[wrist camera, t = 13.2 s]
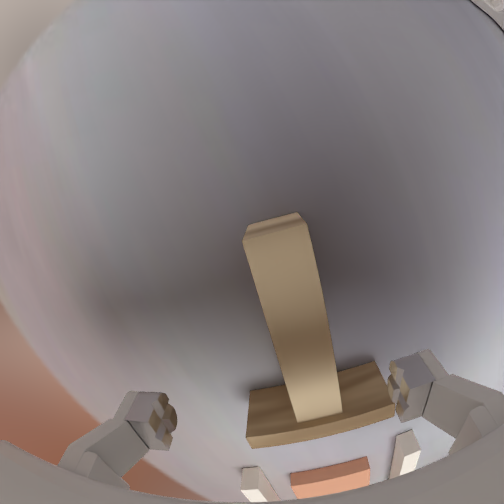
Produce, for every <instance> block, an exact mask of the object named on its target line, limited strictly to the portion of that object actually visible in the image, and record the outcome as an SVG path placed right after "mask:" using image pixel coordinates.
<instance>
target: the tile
mask: <svg viewBox="0 0 504 504" xmlns="http://www.w3.org/2000/svg"><path fill="white" fill-rule="evenodd" d="M290 474H291V487H292V489H293V491H294V493H295V495H296V497H297V499H302V498H309V497H316V496H322V495H328V494H333V493H338V492H343V491H348V490H352V489H356V488H360V487H364V486H368V485H369V480H370V466H369V463H368V459H367V456H366V457H363V458H360V459H356V460H352V461H349V462H345V463H341V464H337V465H332V466H328V467H323V468H319V469H313V470H308V471H302V472H296V473H290Z"/></svg>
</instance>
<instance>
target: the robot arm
mask: <svg viewBox="0 0 504 504" xmlns="http://www.w3.org/2000/svg"><path fill="white" fill-rule="evenodd" d="M471 1H473V2H474V3H475V4H476V5H477V6H479V7H480V8H481V9H482V10H483V11H485V12H486V13H487V14H488V15H490V16H491V17H492V18H493V19H494V20H495V21H496V22H497V23H498V24H499V25H500V27H501V28H502V29H503V30H504V0H471ZM389 370H390V372H391V375H390V376H389V377H388V384H387V385H388V393H389V396H390V399H391V401H392V402H394V403H396V404H397V405H396V412H397V415H398V417H399V419H400V421H401V423H402V422H406V421H409V420H412V419H415V418H418V417H420V416H422V417H423V418H425V419H426V420H428V421H429V422H431V423H432V424H434V425H435V426H437V427H438V428H440V429H442V430H443V431H445V432H446V433H448V434H449V435H451V436H453V437H454V438H456V440H455V441H454V443H453V445H452V447H451V448H450V450H449V452H448V453H449V456H447V457H444V458H442V459H440V460H438V461H436V462H433V463H431V464H429V465H426V466H424V467H422V468H419V469H417V470H414V471H411V472H409V473H406V474H403V475H400V476H397V477H394V478H391V479H388V480H385V481H382V482H379V483H375V484H372V485H368V486H364V487H360V488H356V489H352V490H348V491H343V492H338V493H333V494H328V495H322V496H316V497H309V498H302V499H293V500H283V501H269V502H212V501H197V500H187V499H178V498H172V497H164V496H159V495H153V494H148V493H143V492H138V491H133V490H129V488H130V487H129V485H128V484H127V483H126V482H125V481H124V480H123V479H122V478H121V477H122V476H123V475H124V474H125V473H126V472H127V471H128V470H130V469H131V468H132V466H134V465H135V464H136V463H137V462H138V461H139V460H140V459H141V458H142V457H143V456H144V455H145V454H146V453H147V452H148V451H149V449H152V450H165V451H169V448H170V445H171V442H172V439H173V437H172V435H171V432H173V431H174V430H175V429H176V426H177V414H176V411H175V409H174V407H172V406H171V405H170V404H168V401H169V399H168V397H167V395H166V394H165V393H161V392H141V391H140V392H137V391H129V392H128V393H127V394H126V396H125V397H124V399H123V401H122V403H121V405H120V407H119V408H118V410H117V412H116V414H115V416H114V418H113V419H109V420H107V421H106V422H104V423H103V424H101V425H100V426H98V427H96V428H95V429H93V430H92V431H90V432H89V433H87V434H86V435H84V436H83V437H81V438H79V439H78V440H76V441H75V442H73V443H71V444H70V445H69V446H68V448H67V450H66V451H65V453H64V455H63V457H62V458H61V460H60V462H59V464H58V466H56V465H53V464H51V463H49V462H47V461H44V460H42V459H40V458H38V457H36V456H34V455H32V454H30V453H28V452H26V451H24V450H22V449H20V448H18V447H17V446H15V445H13V444H11V443H9V442H8V441H5V440H1V441H0V504H504V395H503V394H502V392H499V391H497V390H494V389H491V388H488V387H486V386H483V385H480V384H478V383H475V382H472V381H470V380H467V379H464V378H462V377H459V376H456V375H454V374H451V375H449V374H448V373H447V372H446V370H445V369H444V367H443V366H442V365H441V363H440V362H439V361H438V359H437V358H436V357H435V355H434V354H433V353H432V352H431V350H429V349H426V350H423V351H420V352H417V353H414V354H411V355H408V356H405V357H402V358H399V359H396V360H392V361H391V363H390V367H389Z"/></svg>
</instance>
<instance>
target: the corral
mask: <svg viewBox="0 0 504 504" xmlns="http://www.w3.org/2000/svg"><path fill="white" fill-rule="evenodd" d="M420 452H421V448H420V446H419V444H418V442H417V439H416V437H415V435H414V433H413V430H410V431H408V432H405V433H402V434H400V435H397V436H396V442H395V449H394V455H393V460H392V465H391V471H390V475H389V479H391V478H394V477H397V476H400V475H403V474H406V473H409V472H411V471H414V470H415V467H416V464H417V461H418V458H419V455H420ZM241 491H242V493H243V494H244V495H245V496H246V497H247V498H248V499H249V500H250V502H269V501H281V500H280V498H279V497H278V495H277V494H276V492H275V491H274V489H273V488H272V486H271V485H270V483H269V482H268V480H267V478H266V477H265V475H264V474H263V472H262V470H261V469H260V467H252V468H243V470H242V480H241Z"/></svg>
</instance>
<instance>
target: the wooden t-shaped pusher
mask: <svg viewBox="0 0 504 504" xmlns="http://www.w3.org/2000/svg"><path fill="white" fill-rule="evenodd" d="M242 243H243V246H244V250H245V253H246V256H247V260H248V263H249V266H250V270H251V273H252V276H253V279H254V283H255V286H256V289H257V293H258V296H259V299H260V302H261V306H262V309H263V312H264V316H265V319H266V322H267V325H268V329H269V332H270V335H271V338H272V342H273V345H274V348H275V351H276V355H277V358H278V361H279V364H280V368H281V371H282V374H283V377H284V381H285V385H280V386H275V387H269V388H264V389H258V390H252V391H250V398H249V409H248V420H247V430H246V439H247V441H248V443H249V444H250V446H251V448H252V449H255V448H264V447H272V446H279V445H285V444H291V443H297V442H302V441H308V440H312V439H317V438H322V437H326V436H330V435H334V434H338V433H342V432H346V431H350V430H353V429H357V428H360V427H364V426H367V425H370V424H373V423H376V422H379V421H382V420H385V419H388V418H391V417H394V414H395V403H394V402H392V401H391V399H390V396H389V393H388V387H387V385H386V383H385V381H384V379H383V377H382V374H381V372H380V370H379V368H378V366H377V365H376V363H375V361H373V362H370V363H367V364H364V365H360V366H357V367H354V368H350V369H347V370H343V371H340V372H337V370H336V364H335V358H334V352H333V346H332V340H331V334H330V329H329V324H328V318H327V313H326V308H325V303H324V298H323V293H322V288H321V283H320V279H319V274H318V269H317V265H316V260H315V256H314V252H313V247H312V243H311V239H310V235H309V231H308V226H307V223H306V222H305V221H304V220H303V219H302V217H301V216H300V215H299V214H298V212H295V213H291V214H287V215H284V216H280V217H276V218H272V219H269V220H265V221H261V222H257V223H254V224H250V225H248V227H247V230H246V232H245V235H244V237H243V240H242Z"/></svg>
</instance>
